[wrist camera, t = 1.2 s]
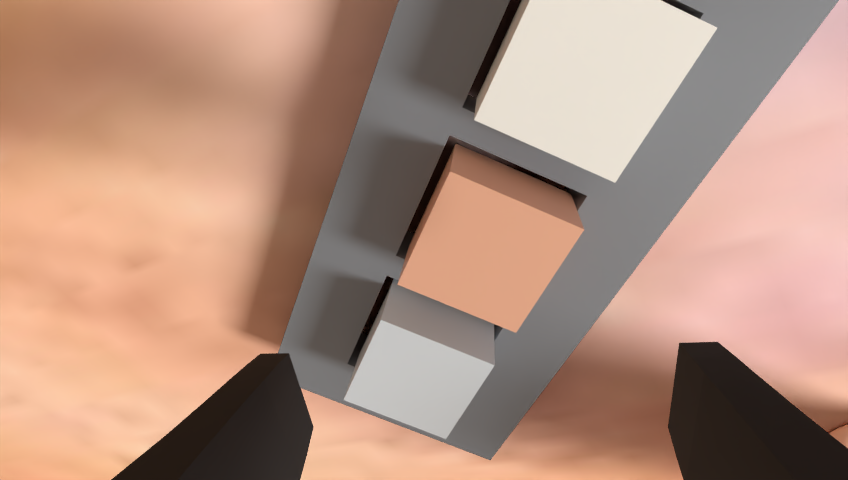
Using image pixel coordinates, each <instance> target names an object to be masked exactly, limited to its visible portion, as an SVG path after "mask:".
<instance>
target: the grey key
mask: <svg viewBox="0 0 848 480" xmlns="http://www.w3.org/2000/svg"><path fill="white" fill-rule="evenodd" d="M398 281H399V280H396V279H393V281H392V284H391V286H390V288H389V290H388V292H387V294H386V297H385V299H384V301H383V303H382V305H381V308H380V310H379V312H378V314H377V316H376V319H375V321H374V323H373V325H372V327H371V329H370V332H369V334H368V336H367V338H366V340H365V343H364V345H363V347H362V349H361V351H360V354H359V356H358V359H357V362H356V365H355V368H354V371H353V374H352V377H351V380H350V383H349V386H348V388H347V391H346V394H345V397H344V400H345V401H347V402H350V403H353V404H355V405H358V406H361V407H363V408H366V409H368V410H371V411H374V412H376V413H379V414H381V415H384V416H387V417H389V418H392V419H395V420H397V421H400V422H402V423H405V424H408V425H410V426H413V427H415V428H418V429H421V430H423V431H426V432H428V433H431V434H434V435H436V436H439V437H442V438H444V439H446V438H447V437H448V435H449V434H450V432H451V431H452V429H453V428H454V426H455V425H456V423H457V422H458V420H459V419H460V417H461V416H462V414H463V412H464V411H465V409H466V408H467V406H468V405H469V403H470V402H471V400H472V399H473V397H474V396H475V394H476V393H477V391H478V390H479V388H480V387H481V385H482V384H483V382H484V381H485V379H486V378H487V376H488V375H489V373H490V372H491V370H492V369H493V367H494V366H495V355H494V324H493V323H490V322H488V321H486V320H483V319H481V318H478V317H476V316H473V315H471V314H468V313H466V312H463V311H461V310H459V309H456V308H454V307H451V306H449V305H446V304H444V303H441V302H439V301H437V300H434V299H432V298H429V297H427V296H424V295H422V294H419V293H417V292H414V291H412V290H410V289H407V288H405V287H402V286H400V285H397V284H398Z"/></svg>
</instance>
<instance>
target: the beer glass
mask: <svg viewBox="0 0 848 480" xmlns="http://www.w3.org/2000/svg"><path fill="white" fill-rule="evenodd" d="M829 434H830V435H831V436H833V437H834V438H835V439H836V440H838V441H839V442H840V443H842V444H843V445H844V446H845V447H847V448H848V424H847V425H844V426H842V427H839V428H837V429H835V430H833V431H831V432H830V433H829Z"/></svg>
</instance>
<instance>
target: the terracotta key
mask: <svg viewBox="0 0 848 480" xmlns="http://www.w3.org/2000/svg"><path fill="white" fill-rule="evenodd" d="M583 231H584V227H583V225H582V222H581V219H580V217H579V214H578V211H577V209H576V206H575V203H574V201H573V198H572V195H571V194H570V193H568V192H565V191H563V190H561V189H559V188H556V187H554V186H552V185H549V184H547V183H545V182H543V181H540V180H538V179H536V178H534V177H531V176H529V175H527V174H524V173H522V172H520V171H518V170H515V169H513V168H511V167H508V166H506V165H504V164H502V163H499V162H497V161H495V160H493V159H490V158H488V157H486V156H483V155H481V154H479V153H477V152H474V151H472V150H470V149H467V148H465V147H463V146H461V145H458V144H455V146H454V148H453V150H452V153H451V155H450V157H449V159H448V161H447V163H446V166H445V168H444V170H443V172H442V174H441V177H440V179H439V181H438V183H437V185H436V188H435V190H434V192H433V194H432V196H431V198H430V201H429V203H428V205H427V207H426V209H425V212H424V214H423V216H422V218H421V220H420V222H419V225H418V227H417V229H416V231H415V233H414V236H413V238H412V240H411V242H410V244H409V247H408V251H407V254H406V257H405V261H404V264H403V267H402V271H401V274H400V277H399V281H398V284H397V285H400V286H402V287H405V288H407V289H410V290H412V291H414V292H417V293H419V294H422V295H424V296H427V297H429V298H432V299H434V300H437V301H439V302H441V303H444V304H446V305H449V306H451V307H454V308H456V309H459V310H461V311H463V312H466V313H468V314H471V315H473V316H476V317H478V318H481V319H483V320H486V321H488V322H490V323H493V324H495V325H498V326H500V327H503V328H505V329H508V330H510V331H513V332H515V333H516V332H517V331H518V329H519V328H520V326H521V325H522V323H523V322H524V320H525V319H526V317H527V316H528V314H529V313H530V311H531V310H532V308H533V307H534V305H535V304H536V302H537V300H538V299H539V297H540V296H541V294H542V293H543V291H544V290H545V288H546V287H547V285H548V284H549V282H550V281H551V279H552V278H553V276H554V275H555V273H556V272H557V270H558V269H559V267H560V266H561V264H562V263H563V261H564V260H565V258H566V257H567V255H568V254H569V252H570V251H571V249H572V247H573V246H574V244H575V243H576V241H577V240H578V238H579V237H580V235H581V234H582V232H583Z"/></svg>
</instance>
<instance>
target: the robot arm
mask: <svg viewBox="0 0 848 480" xmlns="http://www.w3.org/2000/svg"><path fill="white" fill-rule="evenodd" d="M668 428H669V432H670V435H671V439H672V443H673V446H674V450H675V453H676V457H677V460H678V463H679V467H680V470H681V473H682V476H683V480H848V448H847V447H845V446H844V445H843V444H842V443H840V442H839V441H838V440H836V439H835V438H834V437H833V436H831V435H830V434H829V433H828V432H826V431H825V430H824V429H823V428H821V427H820V426H819V425H818V424H816V423H815V422H814V421H812V420H811V419H810V418H809V417H807V416H806V415H805V414H804V413H803V412H801V411H800V410H799V409H798V408H796V407H795V406H794V405H793V404H791V403H790V402H789V401H788V400H787V399H785V398H784V397H783V396H782V395H781V394H779V393H778V392H777V391H776V390H775V389H773V388H772V387H771V386H770V385H769V384H767V383H766V382H765V381H764V380H763V379H761V378H760V377H759V376H758V375H757V374H755V373H754V372H753V371H752V370H751V369H749V368H748V367H747V366H746V365H745V364H744V363H742V362H741V361H740V360H739V359H738V358H736V357H735V356H734V355H733V354H732V353H730V352H729V351H728V350H727V349H726V348H724V347H723V346H722V345H721V344H719V343H718V342H699V343H679V349H678V357H677V364H676V372H675V379H674V387H673V394H672V402H671V409H670V417H669V424H668ZM312 431H313V424H312V421H311V418H310V415H309V412H308V409H307V406H306V403H305V400H304V397H303V394H302V391H301V388H300V385H299V382H298V379H297V376H296V373H295V370H294V367H293V364H292V361H291V358H290V355H289V353H276V354H260V355H258V356H257V357H256V358H255V359H253V360H252V361H251V362H250V363H248V364H247V365H246V366H245V367H244V368H243V369H241V370H240V371H239V372H238V373H237V374H236V375H234V376H233V377H232V378H231V379H230V380H229V381H228V382H226V383H225V384H224V385H223V386H222V387H221V388H220V389H219V390H217V391H216V392H215V393H214V394H213V395H212V396H211V397H209V398H208V399H207V400H206V401H205V402H204V403H203V404H201V405H200V406H199V407H198V408H197V409H196V410H195V411H193V412H192V413H191V414H190V415H189V416H188V417H186V418H185V419H184V420H183V421H182V422H181V423H180V424H178V425H177V426H176V427H175V428H174V429H173V430H172V431H170V432H169V433H168V434H167V435H166V436H164V437H163V438H162V439H161V440H160V441H158V442H157V443H156V444H155V445H153V446H152V447H151V448H150V449H149V450H147V451H146V452H145V453H144V454H142V455H141V456H140V457H139V458H137V459H136V460H135V461H134V462H132V463H131V464H130V465H129V466H128V467H126V468H125V469H124V470H123V471H121V472H120V473H119V474H118V475H116V476H115V477H114V478H113V479H112V480H300V478H301V474H302V471H303V467H304V463H305V459H306V456H307V452H308V447H309V443H310V439H311V435H312Z"/></svg>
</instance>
